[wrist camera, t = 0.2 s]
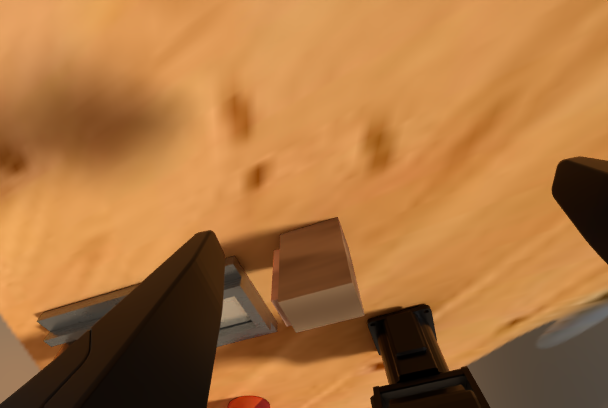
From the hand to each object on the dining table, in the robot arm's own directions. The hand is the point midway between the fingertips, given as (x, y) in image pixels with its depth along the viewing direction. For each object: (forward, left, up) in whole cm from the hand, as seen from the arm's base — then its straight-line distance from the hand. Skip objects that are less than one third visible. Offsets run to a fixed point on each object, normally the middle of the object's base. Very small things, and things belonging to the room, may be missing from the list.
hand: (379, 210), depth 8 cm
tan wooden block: (-12, +5, -14) cm, 19 cm away
